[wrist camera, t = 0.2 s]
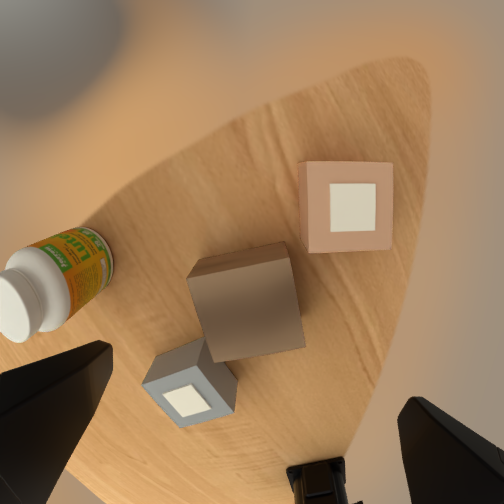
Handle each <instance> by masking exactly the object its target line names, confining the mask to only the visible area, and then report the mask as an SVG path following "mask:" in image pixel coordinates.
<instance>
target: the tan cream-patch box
mask: <svg viewBox="0 0 504 504" xmlns="http://www.w3.org/2000/svg"><path fill="white" fill-rule="evenodd" d="M298 187H299V218H300V239H301V241H302V242H303V244H304V246H305V248H306V249H307V251H308V253H329V252H350V251H371V250H391V248H392V228H393V163H387V162H355V161H306V162H300V163H298Z"/></svg>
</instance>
